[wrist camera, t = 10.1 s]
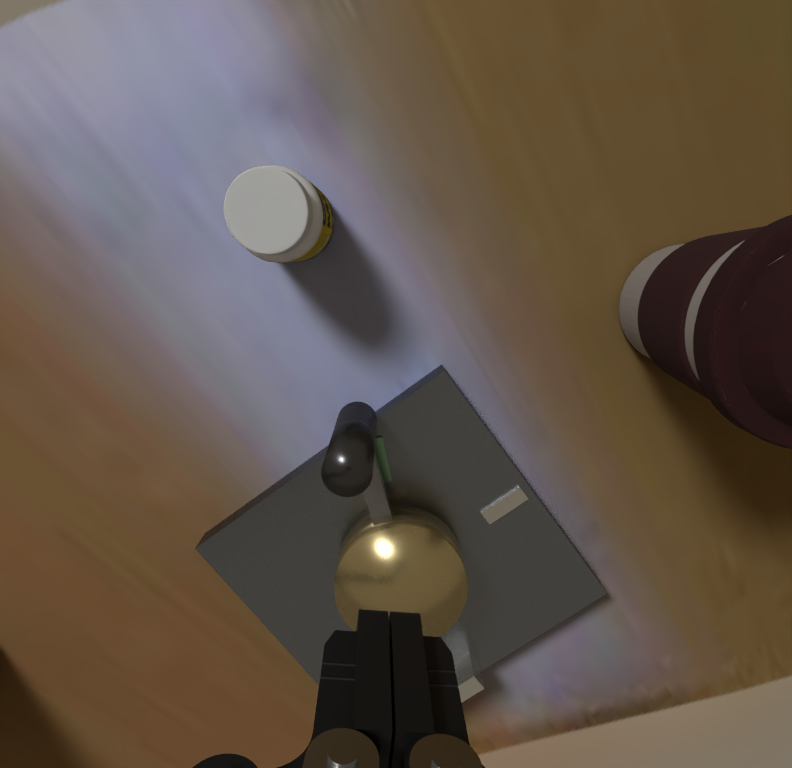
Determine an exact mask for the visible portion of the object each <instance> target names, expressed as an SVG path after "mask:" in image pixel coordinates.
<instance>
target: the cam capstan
mask: <svg viewBox="0 0 792 768" xmlns="http://www.w3.org/2000/svg"><path fill="white" fill-rule="evenodd" d="M376 429H377V416H376V413H375V411H374V410H373V409H372V408H371V407H370V406H369V405H367V404H365V403H363V402H352V403H349V404H347V405H345V406H344V407H343V408H342V409H341V411H340V413H339V415H338V418H337V422H336V425H335V428H334V431H333V434H332V437H331V440H330V443H329V446H328V450H327V453H326V456H325V459H324V462H323V465H322V469H321V477H322V480H323V483H324V485H325V486H326V487H327V489H328V490H329V491H331V492H332V493H334V494H336V495H338V496H341V497H353V496H357V495H359V494H361V493H362V492H364V496H365V499H366V502H367V505H368V509H369V512H370V514H368V515H366V516H365V517H363V518H362V519H360V520H359V521H358V522H357V523H356V524H355V525H354V526H353V527H352V528H351V529H350V530H349V532H348V533H347V535H346V537H345V538H344V540H343V543H342V545H341V548H340V553H339V559H338V564H337V570H336V576H335V582H334V595H335V601H336V604H337V607H338V610H339V612H340V614H341V616H342V617H343V619H344V621H345V622H346V623H347V624H348V626H349V627H350V628H351V629H353V630H354V631H356V629H357V620H358V611H359V609H364V610H378V611H388V614H390V611H393V612H407V613H420V616H421V624H422V632H423V636H432V637H440V636H441V635H443V634H444V633H445V632H446V631H448V630H449V629H450V628H451V627H452V626H453V625H454V623H455V622H456V621H457V620H458V618H459V616H460V615H461V613H462V611H463V609H464V606H465V603H466V599H467V592H468V583H467V577H466V572H465V568H464V563H463V559H462V555H461V550H460V547H459V544H458V541H457V539H456V537H455V535H454V534H453V532H452V531H451V529H450V528H449V527H448V526H447V525H446V524H445V523H444V522H443V521H442V520H440V519H439V518H438V517H436V516H435V515H433V514H431V513H429V512H427V511H425V510H421V509H418V508H414V507H408V506H394V507H391V505H390V501H389V498H388V495H387V491H386V488H385V485H384V481H383V478H382V475H381V471H380V468H379V464H378V461H377V458H376V454H375V440H376Z"/></svg>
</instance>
